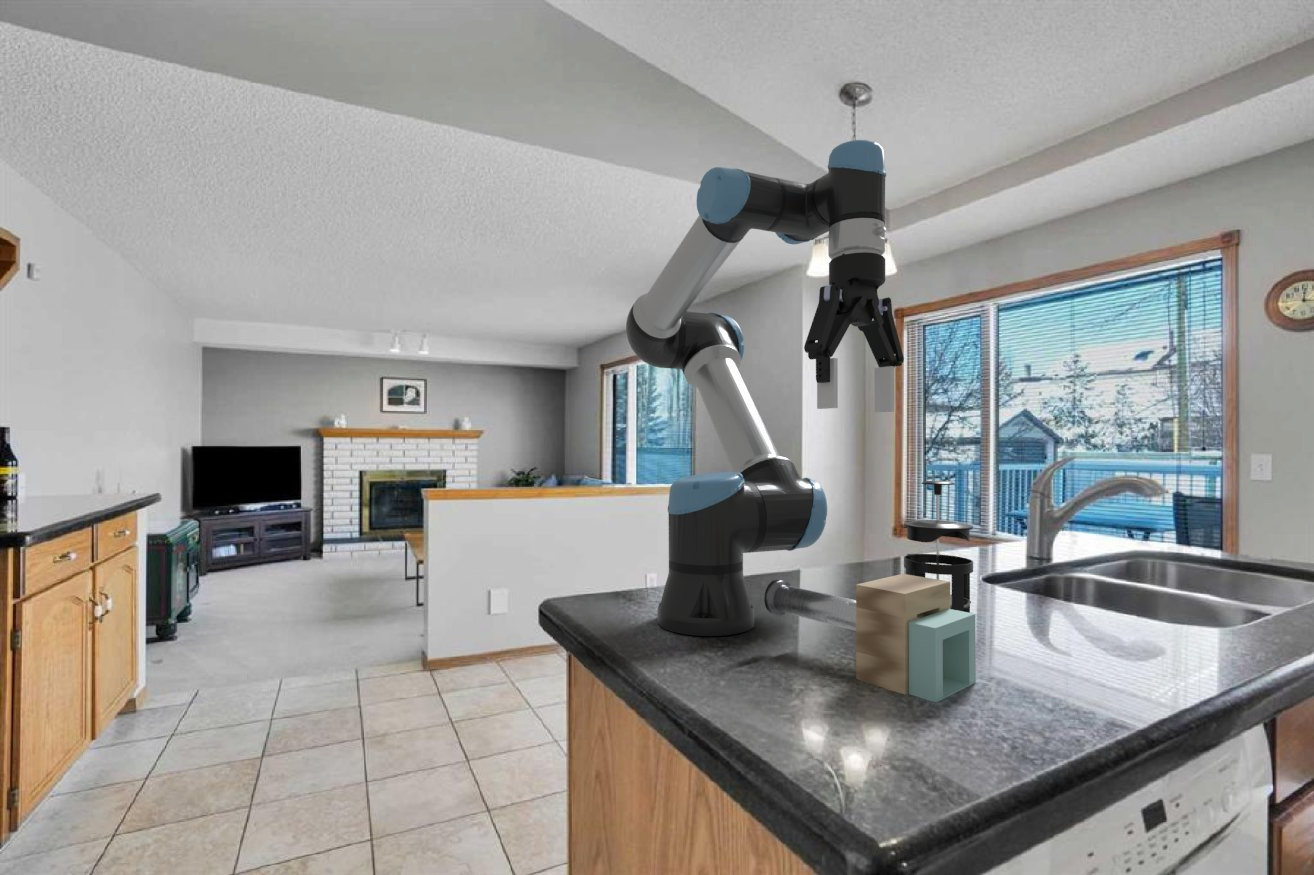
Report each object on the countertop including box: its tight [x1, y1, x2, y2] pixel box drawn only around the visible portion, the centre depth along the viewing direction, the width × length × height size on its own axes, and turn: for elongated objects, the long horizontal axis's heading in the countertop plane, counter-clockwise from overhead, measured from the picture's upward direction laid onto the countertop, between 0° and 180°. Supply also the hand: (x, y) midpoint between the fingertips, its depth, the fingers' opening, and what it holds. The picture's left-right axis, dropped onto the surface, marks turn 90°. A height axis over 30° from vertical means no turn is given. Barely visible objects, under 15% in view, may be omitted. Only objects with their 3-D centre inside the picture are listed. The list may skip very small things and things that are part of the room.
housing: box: [855, 573, 951, 696], centre depth 75 cm, size 6×10×12 cm, turn 130°
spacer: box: [908, 609, 977, 703], centre depth 72 cm, size 3×9×9 cm, turn 130°
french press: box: [903, 480, 974, 613], centre depth 92 cm, size 12×9×23 cm
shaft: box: [763, 579, 926, 632], centre depth 82 cm, size 21×5×5 cm, turn 40°
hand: (857, 410), depth 90 cm, fingers open, 13 cm apart
